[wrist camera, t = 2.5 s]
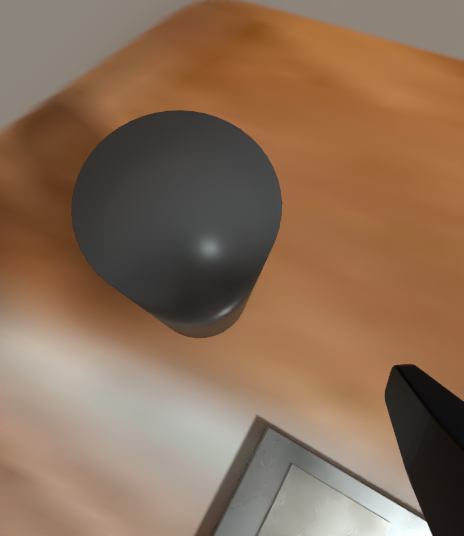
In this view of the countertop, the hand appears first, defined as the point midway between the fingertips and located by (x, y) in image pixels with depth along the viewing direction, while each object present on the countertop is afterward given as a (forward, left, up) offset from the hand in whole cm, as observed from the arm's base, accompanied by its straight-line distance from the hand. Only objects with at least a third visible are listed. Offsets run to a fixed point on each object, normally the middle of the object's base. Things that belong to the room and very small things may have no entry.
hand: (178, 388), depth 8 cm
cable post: (+3, +2, -11) cm, 12 cm away
